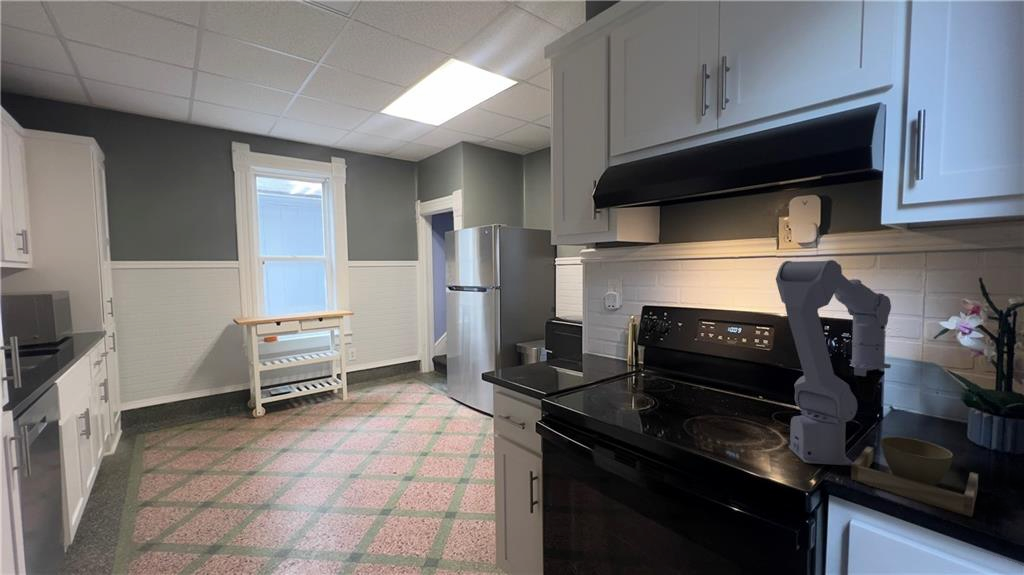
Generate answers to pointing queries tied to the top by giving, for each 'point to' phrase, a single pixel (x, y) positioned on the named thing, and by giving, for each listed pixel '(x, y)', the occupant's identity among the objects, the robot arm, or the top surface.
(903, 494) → the frame
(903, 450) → the yellow bowl
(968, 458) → the top surface
